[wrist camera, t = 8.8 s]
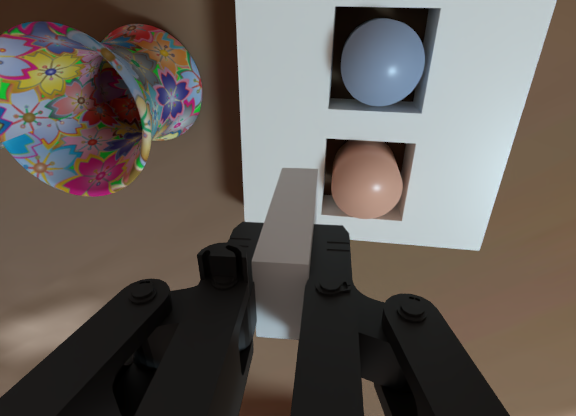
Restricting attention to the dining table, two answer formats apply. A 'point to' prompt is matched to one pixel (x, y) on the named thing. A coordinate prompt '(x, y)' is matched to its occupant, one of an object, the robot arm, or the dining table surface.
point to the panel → (391, 110)
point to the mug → (92, 102)
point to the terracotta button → (365, 179)
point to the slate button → (382, 61)
